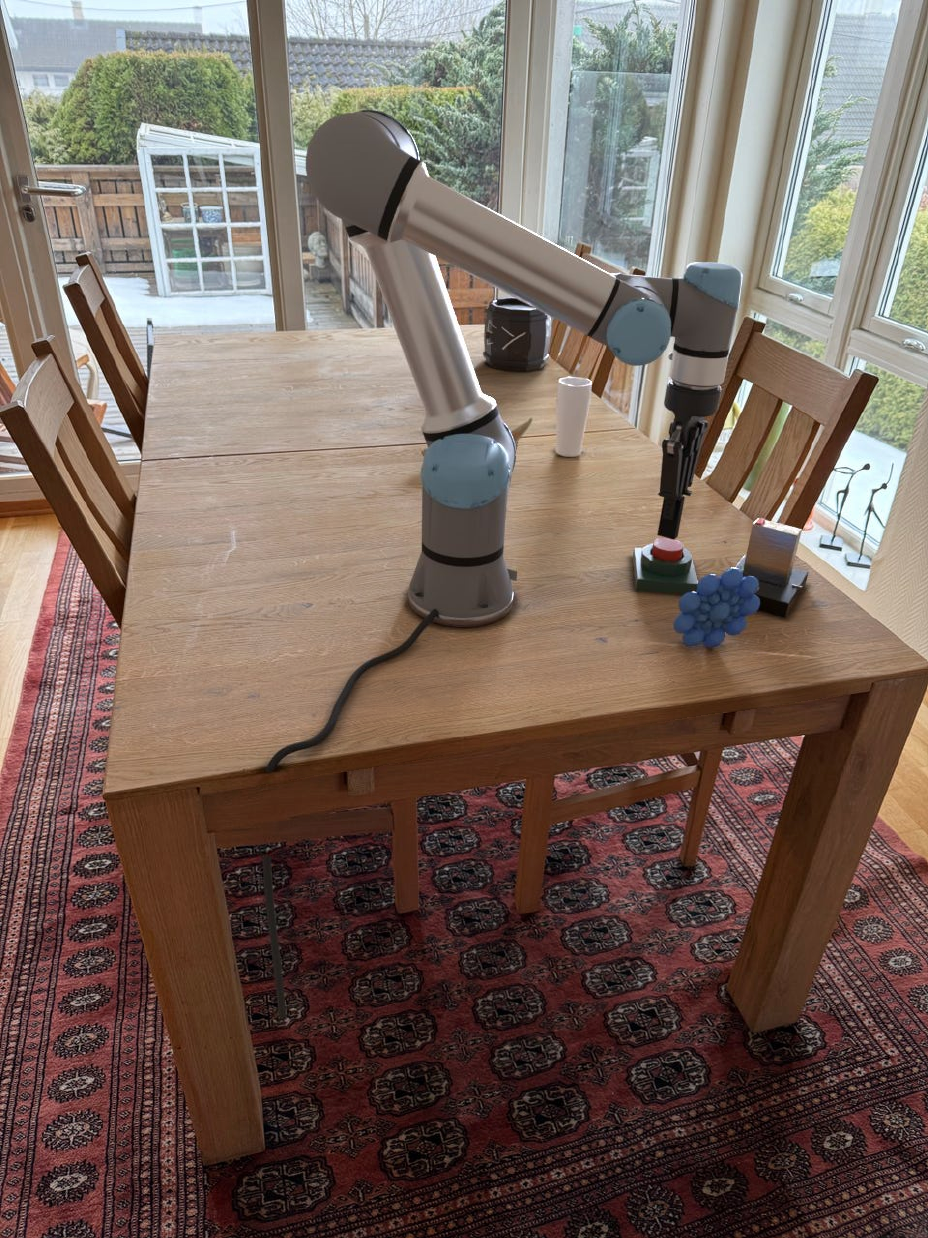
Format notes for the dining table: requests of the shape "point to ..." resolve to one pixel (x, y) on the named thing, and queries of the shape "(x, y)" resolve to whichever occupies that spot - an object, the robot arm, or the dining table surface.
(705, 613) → the blue flower
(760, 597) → the black stand base
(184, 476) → the dining table surface
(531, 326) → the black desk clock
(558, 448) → the drinking glass
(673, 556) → the button
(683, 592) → the button housing
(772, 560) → the silver rectangular block
